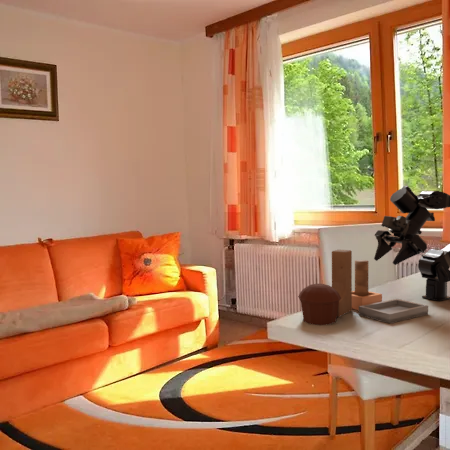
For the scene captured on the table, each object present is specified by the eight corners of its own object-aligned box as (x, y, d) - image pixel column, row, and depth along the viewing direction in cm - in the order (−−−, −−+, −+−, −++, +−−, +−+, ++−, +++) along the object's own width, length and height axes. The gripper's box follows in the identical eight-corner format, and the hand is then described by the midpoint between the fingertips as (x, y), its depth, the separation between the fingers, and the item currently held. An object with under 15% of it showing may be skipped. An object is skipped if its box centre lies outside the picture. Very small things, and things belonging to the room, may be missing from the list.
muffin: (290, 321, 140) (290, 285, 140) (311, 313, 149) (311, 279, 148) (329, 328, 133) (329, 291, 132) (348, 319, 141) (348, 284, 140)
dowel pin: (361, 304, 158) (361, 259, 157) (371, 306, 155) (371, 261, 154) (351, 306, 156) (351, 260, 155) (361, 308, 153) (361, 262, 152)
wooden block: (339, 317, 144) (338, 253, 142) (324, 315, 146) (324, 252, 145) (352, 310, 151) (352, 250, 149) (337, 308, 153) (337, 249, 152)
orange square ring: (360, 302, 161) (361, 289, 161) (381, 307, 154) (381, 294, 154) (341, 305, 157) (341, 293, 157) (362, 311, 150) (362, 297, 149)
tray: (396, 306, 154) (396, 298, 154) (428, 314, 145) (428, 305, 145) (358, 314, 146) (358, 306, 146) (389, 323, 136) (389, 314, 136)
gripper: (378, 205, 166) (350, 242, 163) (418, 207, 148) (387, 248, 146) (399, 227, 169) (372, 263, 167) (440, 231, 152) (410, 272, 149)
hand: (384, 261), depth 157 cm, fingers open, 9 cm apart
